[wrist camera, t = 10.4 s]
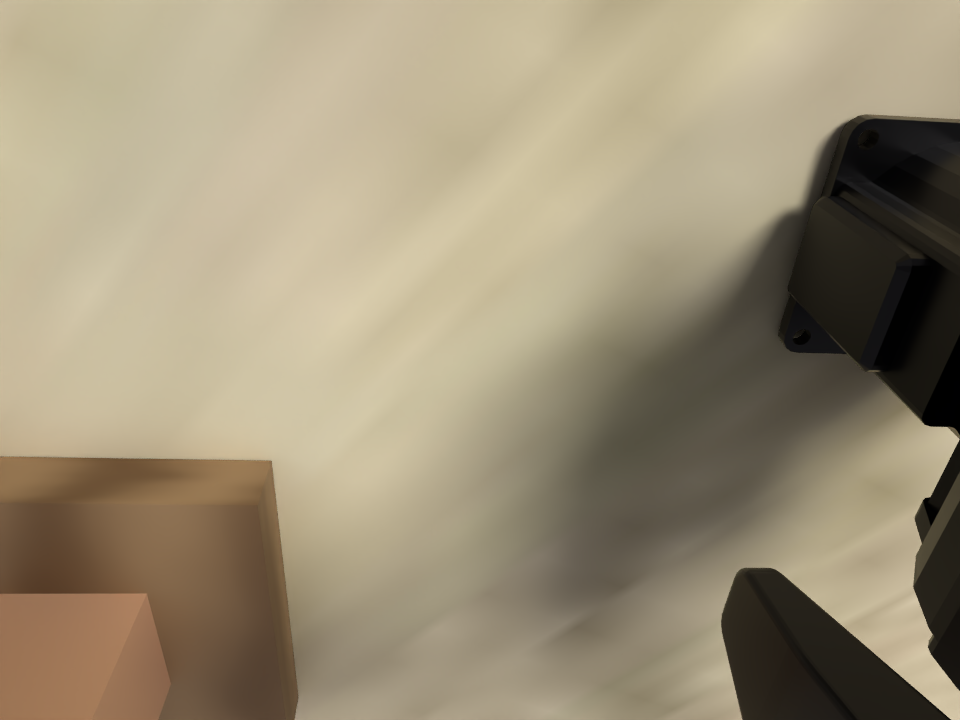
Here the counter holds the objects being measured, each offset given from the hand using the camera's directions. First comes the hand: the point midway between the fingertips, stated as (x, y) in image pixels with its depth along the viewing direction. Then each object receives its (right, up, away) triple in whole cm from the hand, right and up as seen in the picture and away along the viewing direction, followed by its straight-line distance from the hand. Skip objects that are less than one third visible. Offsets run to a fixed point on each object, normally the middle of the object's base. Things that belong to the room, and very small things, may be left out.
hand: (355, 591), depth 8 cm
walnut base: (-11, -5, +17) cm, 21 cm away
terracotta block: (-11, -6, +15) cm, 20 cm away
